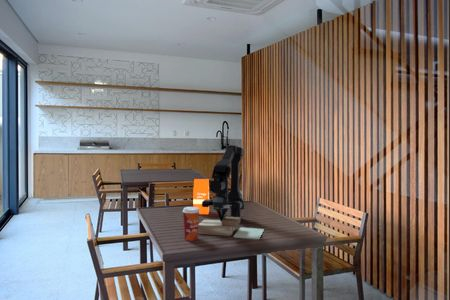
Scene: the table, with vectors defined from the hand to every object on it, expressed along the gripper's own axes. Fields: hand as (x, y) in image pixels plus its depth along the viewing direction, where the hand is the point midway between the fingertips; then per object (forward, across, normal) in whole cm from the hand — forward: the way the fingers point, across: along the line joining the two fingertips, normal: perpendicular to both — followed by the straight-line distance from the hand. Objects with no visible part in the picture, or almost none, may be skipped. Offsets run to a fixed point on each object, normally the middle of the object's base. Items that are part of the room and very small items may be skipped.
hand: (221, 221), depth 177 cm
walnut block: (+1, +5, 0) cm, 5 cm away
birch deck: (+5, -2, 0) cm, 5 cm away
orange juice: (+5, -22, +36) cm, 42 cm away
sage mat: (+5, +14, 0) cm, 14 cm away
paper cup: (+5, -10, -15) cm, 19 cm away
